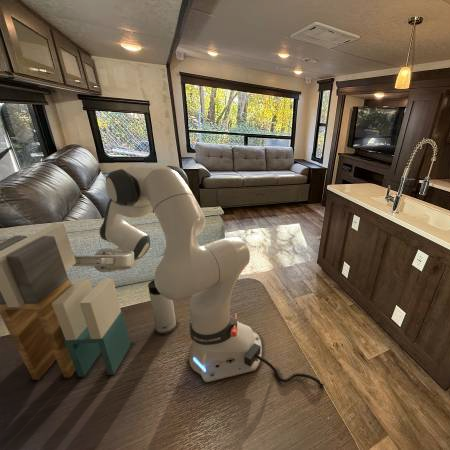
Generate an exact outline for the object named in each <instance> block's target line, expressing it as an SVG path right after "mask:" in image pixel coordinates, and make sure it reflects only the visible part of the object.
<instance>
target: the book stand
mask: <svg viewBox="0 0 450 450" xmlns="http://www.w3.org/2000/svg"><path fill="white" fill-rule="evenodd" d="M27 237H28V235H14V236H12V237H10V238H8V239H6V240H4V241H1V242H0V251H1V250H3V249H5V248H7V247H9V246H11V245H13V244H15V243H17V242H19V241H21V240H23V239H25V238H27ZM6 258H7V260H8V263H9V265H10V267H11V269H12V272H13V274H14V276H15V279H16V281H17V283H18V285H19V288H20V290H21V292H22V294H23V297H24V299H25V301H26V303H24V304H23V305H22V306H21V307H8V306H7V304H6V302H5V300H4V298H3V296H2V294H1V291H0V317H1V319H2V321H3V323H4V325H5V327H6V329H7V331H8V333H9V336H10V337H11V339H12V341H13V343H14V346H15V347H16V349H17V351H18V353H19V355H20V357H21V358H22V361H23V363H24V365H25V367H26V368H27V371H28V373H29V375H30V377H31V379H32V380H40V379H41V377H43V376H44V374H45V373H46V372H47V371H48V370H49V368H50V367H51V366H52V365H53V364H54V363H55V361H56V362H57V364H58V366H59V369H60V371H61V373H62V376H63V378H71V377H72V376H73V375H74V373H75V372H76V369H75V366H74V364H73V361H72V359H71V356H70V354H69V351H68V349H67V346H66V344H65V341H64V340H65V337H64V334H63V332H62V329H61V327H60V324H59V321H58V319H57V316H56V314H55V311H54V309H53V306H52V303H53V302H54V301H55V300H56V299H57V298H58V297H60V296H61V295H62V294H63V293H64V292H65V291H66V290H67V289H69V288H70V287H71V286H72V285H73V283H72V280H71V279H70V278H69V276H68V273H67V271H66V270H65V267H64V264H63V261H62V258H61V255H60V252H59V249H58V246H57V243H56V241H55V238H54V236H43V237H41V238H39V239H37V240H35V241H33V242H32V243H30V244H28V245H26V246H24V247H22V248H21V249H19V250H17V251H15V252H13V253H11V254H10V255H8V256H6Z"/></svg>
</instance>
